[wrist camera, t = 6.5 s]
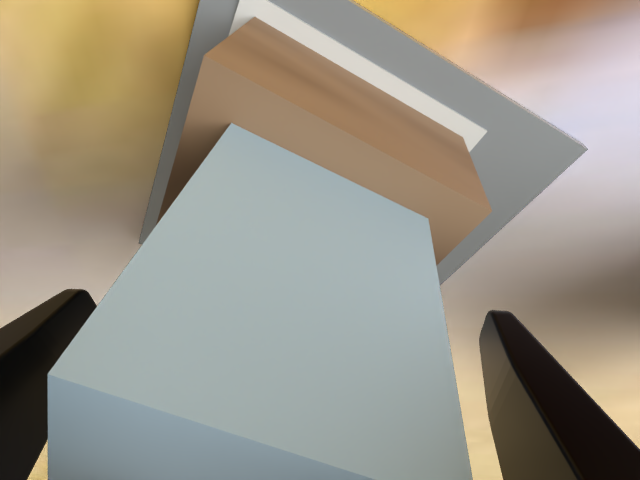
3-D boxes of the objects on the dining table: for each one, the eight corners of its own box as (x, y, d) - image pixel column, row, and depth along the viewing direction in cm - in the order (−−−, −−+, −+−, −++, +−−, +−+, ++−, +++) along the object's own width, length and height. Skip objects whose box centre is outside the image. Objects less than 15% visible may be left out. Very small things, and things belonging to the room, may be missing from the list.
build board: (377, 336, 19) (377, 344, 19) (142, 237, 17) (137, 244, 17) (582, 143, 12) (588, 151, 12) (224, -80, 10) (219, -80, 9)
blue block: (334, 328, 12) (307, 572, 8) (181, 268, 11) (47, 505, 7) (428, 218, 9) (477, 512, 5) (231, 123, 8) (46, 374, 4)
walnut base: (350, 273, 16) (344, 355, 13) (191, 200, 15) (142, 274, 12) (463, 137, 12) (492, 211, 9) (254, 16, 11) (203, 55, 7)
